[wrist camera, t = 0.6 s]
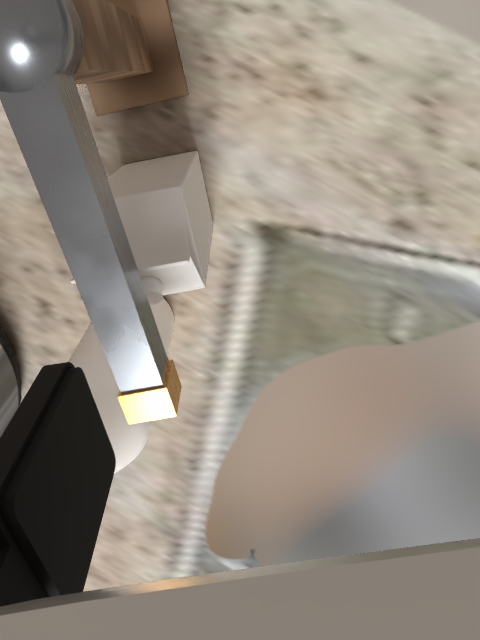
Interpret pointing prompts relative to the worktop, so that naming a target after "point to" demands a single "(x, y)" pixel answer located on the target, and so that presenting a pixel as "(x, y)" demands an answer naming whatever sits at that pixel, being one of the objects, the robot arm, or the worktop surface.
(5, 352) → the pressure cooker
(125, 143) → the worktop surface
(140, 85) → the gate post
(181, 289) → the milk carton
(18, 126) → the arm
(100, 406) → the bottle
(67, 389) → the robot arm
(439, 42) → the worktop surface
